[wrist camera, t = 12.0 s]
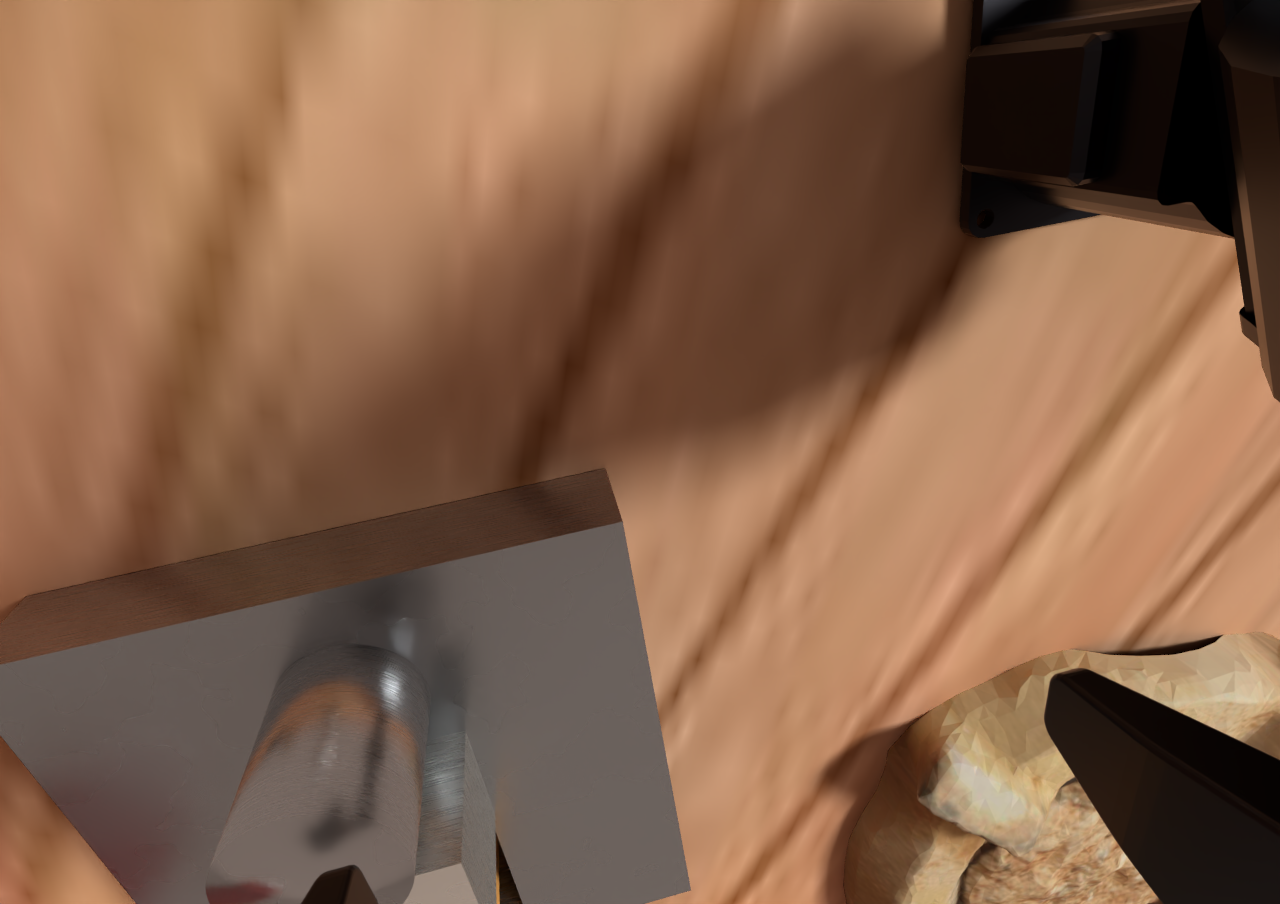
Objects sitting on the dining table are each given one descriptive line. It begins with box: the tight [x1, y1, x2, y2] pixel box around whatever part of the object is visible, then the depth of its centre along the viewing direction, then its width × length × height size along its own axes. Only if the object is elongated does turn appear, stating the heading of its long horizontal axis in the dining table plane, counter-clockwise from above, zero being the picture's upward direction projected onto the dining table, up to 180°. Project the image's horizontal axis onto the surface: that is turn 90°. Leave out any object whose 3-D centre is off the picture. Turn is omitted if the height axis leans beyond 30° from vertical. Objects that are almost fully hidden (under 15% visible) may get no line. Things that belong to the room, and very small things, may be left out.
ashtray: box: [843, 632, 1280, 904], centre depth 32 cm, size 24×24×5 cm
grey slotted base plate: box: [0, 469, 691, 904], centre depth 20 cm, size 16×16×8 cm
